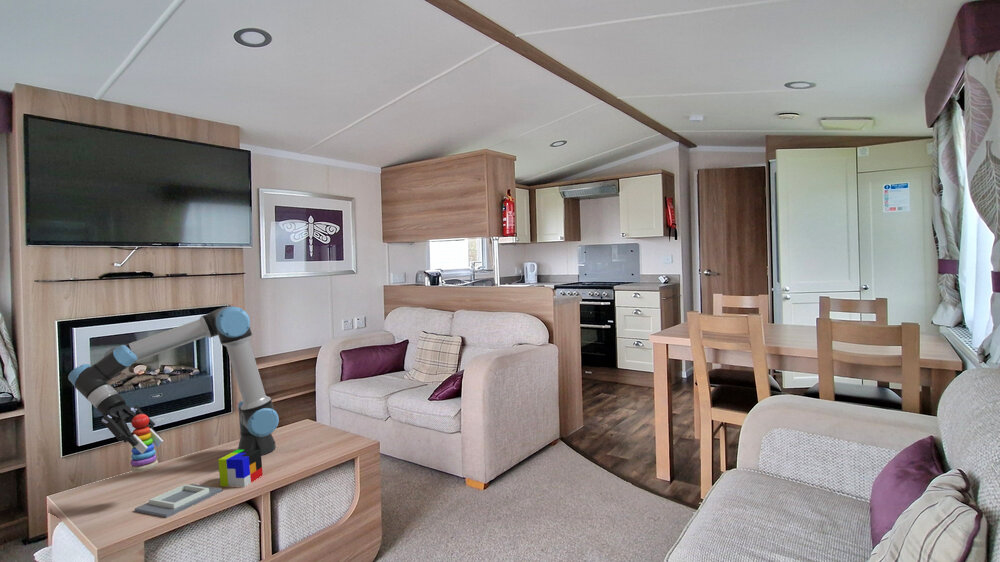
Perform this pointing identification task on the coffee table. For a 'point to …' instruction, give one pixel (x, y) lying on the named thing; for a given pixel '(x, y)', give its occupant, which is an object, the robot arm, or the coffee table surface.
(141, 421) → the stacking toy
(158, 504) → the board
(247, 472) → the puzzle toy
